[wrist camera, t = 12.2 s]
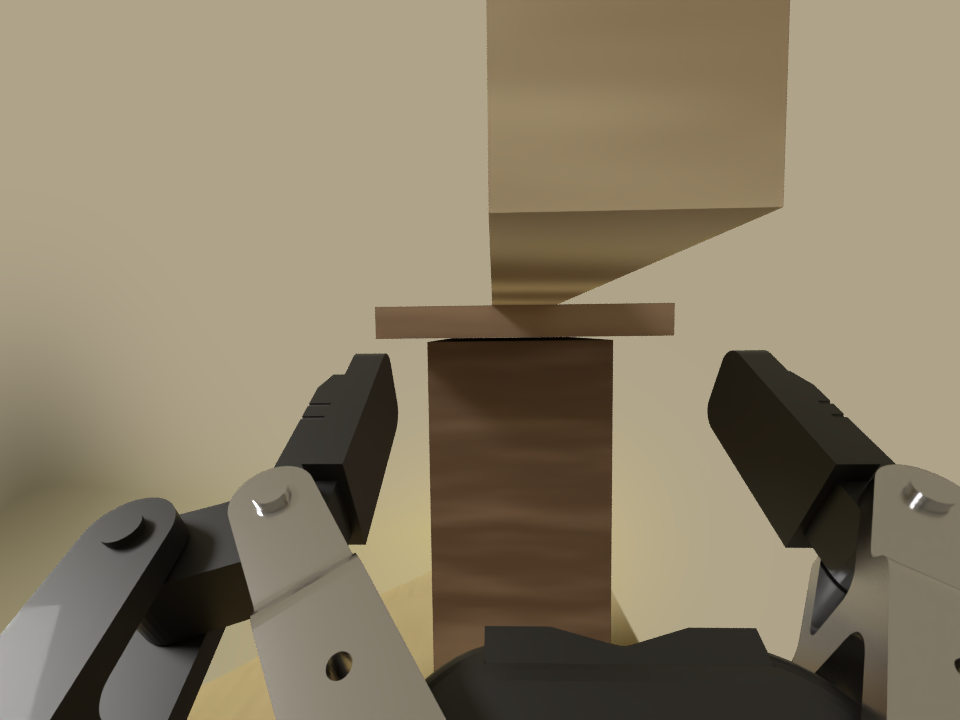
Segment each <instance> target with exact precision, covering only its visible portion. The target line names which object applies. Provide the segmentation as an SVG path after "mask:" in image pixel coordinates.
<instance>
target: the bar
mask: <svg viewBox="0 0 960 720" xmlns="http://www.w3.org/2000/svg"><path fill="white" fill-rule="evenodd" d="M789 12H790V0H487V87H488V88H487V89H488V174H489V175H488V179H489V180H488V184H489V185H488V186H489V230H490V231H489V232H490V257H491V280H492V306H493V305H557V304H559V303H561V302H564V301H566V300H568V299H571V298H573V297H575V296H578V295H580V294H582V293H585V292H587V291H589V290H592V289H594V288H596V287H598V286H601V285H603V284H605V283H608V282H610V281H613V280H615V279H617V278H620V277H622V276H624V275H626V274H629V273H631V272H633V271H636V270H638V269H640V268H643V267H645V266H647V265H650V264H652V263H654V262H656V261H659V260H661V259H663V258H666V257H668V256H670V255H673V254H675V253H677V252H680V251H682V250H685V249H687V248H689V247H691V246H694V245H696V244H698V243H701V242H703V241H705V240H707V239H710V238H712V237H715V236H717V235H719V234H722V233H724V232H726V231H728V230H731V229H733V228H736V227H738V226H740V225H743V224H745V223H747V222H749V221H752V220H754V219H756V218H759V217H761V216H763V215H766V214H768V213H770V212H773V211H775V210H777V209H780V208H782V207H783V199H784V198H783V197H784V169H785V138H786V137H785V136H786V106H787V76H788V75H787V74H788V43H789V14H790V13H789Z"/></svg>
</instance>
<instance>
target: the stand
mask: <svg viewBox="0 0 960 720" xmlns="http://www.w3.org/2000/svg"><path fill="white" fill-rule="evenodd" d="M674 308H675V303H639V304H638V303H637V304H568V305H567V304H565V305H493V306H428V307H427V306H425V307H424V306H422V307H421V306H420V307H375V319H376V339H399V338H400V339H401V338H451V339H444V340H438V341H431V342H428V392H429V393H428V394H429V445H430V492H431V494H430V495H431V542H432V543H431V547H432V598H433V649H434V672H435V671H436V670H437V669H438V668H439V667H441V666H442V665H444V664H445V663H447V662H448V661H450V660H452V659H453V658H455V657H457V656H459V655H461V654H463V653H465V652H468V651H470V650H472V649H476V648H479V647H482V646H484V639H485V626H549V627H554V628H557V629H561V630H564V631H568V632H571V633H575V634H578V635H582V636H585V637H589V638H593V639H596V640H600V641H603V642H607V643H610V644H611V528H612V526H611V525H612V523H611V522H612V401H613V398H612V397H613V394H612V393H613V340H604V339H590V338H576V336H662V335H674ZM571 336H572V337H571ZM489 337H520V338H489Z"/></svg>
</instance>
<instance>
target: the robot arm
mask: <svg viewBox="0 0 960 720" xmlns="http://www.w3.org/2000/svg"><path fill="white" fill-rule="evenodd" d="M309 404H310V406H308V407H307V409H306V411H305V412H304V414H303V416H302V417H303V418H302V419H301V420H300V421H299V423H298V425H297V427H296V429H295V430H294V432H293V434H292V436H291V438H290V439H289V442H288V443H287V445H286V447H285V449H284V450H283V452H282V454H281V456H280V458H279V460H278V461H277V463H276V465H275V467H274V468H272V469H269V470H266V471H263V472H261V473H259V474H257V475H255V476H254V477H252V478H250V479H249V480H248V481H246V482H245V483H244V484H243V485H242V486H241V487H240V488H239V489H238V490H237V491H236V492H235V494H234V495H233V497H232V499H231V500H230V501H229V502H226V503H223V504H219V505H215V506H212V507H207V508H203V509H200V510H195V511H192V512H188V513H184V514H180V515H179V514H178V512H177V511H176V509H175V507H174V506H173V505H172V503H170V502H169V501H167V500H165V499H162V498H144V499H139V500H135V501H132V502H129V503H126V504H124V505H122V506H120V507H118V508H116V509H114V510H112V511H110V512H109V513H107V514H105V515H104V516H102V517H101V518H100V519H98V520H97V521H96V522H94V523H93V524H92V525H91V526H90V527H89V528H88V529H87V530H86V531H85V532H84V533H83V534H82V535H81V537H80V538H79V539H78V540H77V541H76V543H75V544H74V545H73V546H72V548H71V549H70V550H69V551H68V552H67V554H66V555H65V556H64V557H63V559H62V560H61V561H60V562H59V563H58V565H57V566H56V567H55V568H54V569H53V571H52V572H51V573H50V574H49V576H48V577H47V578H46V579H45V581H44V582H43V583H42V584H41V585H40V587H39V588H38V589H37V590H36V591H35V593H34V594H33V595H32V596H31V598H30V599H29V600H28V601H27V602H26V604H25V605H24V606H23V607H22V609H21V610H20V611H19V612H18V614H17V615H16V616H15V617H14V618H13V620H12V621H11V622H10V623H9V625H8V626H7V627H6V628H5V629H4V631H3V632H2V633H1V634H0V720H187V718H188V715H189V713H190V711H191V708H192V706H193V703H194V701H195V699H196V696H197V694H198V692H199V689H200V687H201V684H202V682H203V679H204V677H205V675H206V673H207V670H208V668H209V665H210V663H211V660H212V658H213V656H214V654H215V651H216V649H217V646H218V644H219V642H220V639H221V637H222V635H223V632H224V630H225V627H226V626H229V625H232V624H235V623H239V622H242V621H245V620H248V619H250V621H251V627H252V632H253V635H254V640H255V643H256V647H257V651H258V654H259V658H260V662H261V666H262V669H263V673H264V677H265V681H266V684H267V688H268V692H269V696H270V699H271V703H272V707H273V711H274V714H275V718H276V720H960V487H959V486H958V485H956V484H954V483H953V482H951V481H949V480H947V479H946V478H944V477H941V476H939V475H937V474H935V473H932V472H929V471H927V470H923V469H920V468H917V467H913V466H908V465H897V464H895V463H894V462H893V461H892V460H891V459H890V458H889V457H888V456H886V454H885V453H884V452H883V451H882V450H881V449H880V448H879V447H877V446H876V445H875V444H874V443H873V442H872V441H871V440H870V439H869V438H868V437H867V436H866V435H865V434H864V433H863V432H862V431H861V430H860V429H859V428H858V427H857V426H856V425H855V424H854V423H853V422H852V421H851V420H850V419H849V418H847V417H844V416H843V413H842V412H841V411H840V410H839V409H838V408H837V407H836V406H835V405H834V404H830V400H829V399H828V398H827V397H826V396H825V395H824V394H823V393H822V392H821V391H820V390H819V389H817V388H816V387H815V386H814V385H813V384H811V383H810V382H808V381H806V380H804V379H803V378H801V377H799V376H798V375H795V374H794V373H792V372H791V371H788V370H786V368H785V367H784V366H783V365H782V364H781V363H780V362H779V361H777V359H776V358H775V357H773V355H772V354H771V353H769V352H768V351H765V350H749V351H748V350H746V351H729V352H728V353H727V354H726V355H725V356H724V358H723V361H722V364H721V367H720V370H719V373H718V375H717V378H716V382H715V384H714V387H713V390H712V393H711V396H710V399H709V402H708V420H709V423H710V426H711V428H712V430H713V431H714V433H715V435H716V436H717V438H718V439H719V441H720V443H721V444H722V446H723V448H724V449H725V451H726V452H727V454H728V456H729V457H730V459H731V460H732V462H733V464H734V465H735V467H736V468H737V470H738V472H739V473H740V475H741V477H742V478H743V480H744V481H745V483H746V485H747V486H748V488H749V489H750V491H751V493H752V494H753V496H754V497H755V499H756V501H757V502H758V504H759V506H760V507H761V509H762V510H763V512H764V514H765V515H766V517H767V518H768V520H769V522H770V523H771V525H772V526H773V528H774V530H775V531H776V533H777V534H778V536H779V538H780V539H781V541H782V543H783V544H784V546H785V547H786V548H813V549H814V550H815V551H816V553H817V554H818V557H817V559H816V560H815V562H814V563H813V565H812V568H811V574H810V580H809V586H808V592H807V597H806V603H805V609H804V615H803V621H802V627H801V633H800V639H799V643H798V647H797V650H796V653H795V655H794V658H793V660H792V662H791V661H789V660H786V659H784V658H781V657H779V656H776V655H773V654H770V653H767V650H766V648H765V646H764V644H763V642H762V640H761V638H760V636H759V633H758V631H757V630H756V628H686V629H683V630H679V631H676V632H673V633H670V634H666V635H663V636H660V637H657V638H653V639H650V640H646V641H643V642H640V643H636V644H633V645H629V646H618V645H614V644H610V643H607V642H603V641H600V640H596V639H593V638H589V637H585V636H582V635H578V634H575V633H571V632H568V631H564V630H561V629H557V628H554V627H549V626H485V639H484V646H482V647H479V648H476V649H472V650H470V651H468V652H465V653H463V654H461V655H459V656H457V657H455V658H453V659H452V660H450V661H448V662H447V663H445V664H444V665H442V666H441V667H439V668H438V669H437V670H436V671H435V672H433V673H432V674H431V675H430V676H429V677H427V678H426V679H424V677H423V675H422V674H421V672H420V670H419V668H418V666H417V664H416V662H415V660H414V659H413V657H412V655H411V653H410V651H409V649H408V647H407V646H406V644H405V642H404V640H403V638H402V636H401V634H400V632H399V631H398V629H397V627H396V625H395V623H394V621H393V619H392V618H391V616H390V614H389V612H388V610H387V608H386V606H385V604H384V603H383V601H382V599H381V597H380V595H379V593H378V591H377V590H376V588H375V586H374V584H373V582H372V580H371V578H370V576H369V575H368V573H367V571H366V569H365V567H364V565H363V564H362V562H361V560H360V559H359V557H358V556H357V554H356V553H354V554H352V552H351V550H350V549H349V547H348V545H349V544H350V545H352V544H353V545H354V544H357V545H361V544H362V545H363V544H364V545H365V544H366V541H367V537H368V534H369V530H370V526H371V523H372V519H373V515H374V511H375V508H376V504H377V500H378V496H379V492H380V489H381V485H382V481H383V477H384V474H385V470H386V466H387V462H388V459H389V455H390V451H391V447H392V444H393V440H394V436H395V432H396V428H397V422H398V406H397V399H396V393H395V387H394V382H393V375H392V369H391V363H390V359H389V356H388V355H387V354H356V355H354V357H353V359H352V361H351V363H350V366H349V367H348V369H347V371H346V373H345V375H333V376H331V377H330V378H329V379H328V380H327V381H326V382H324V383H323V384H322V385H321V386H320V387H318V389H317V390H316V392H315V394H314V396H313V398H312V400H311V401H310V403H309Z"/></svg>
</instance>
